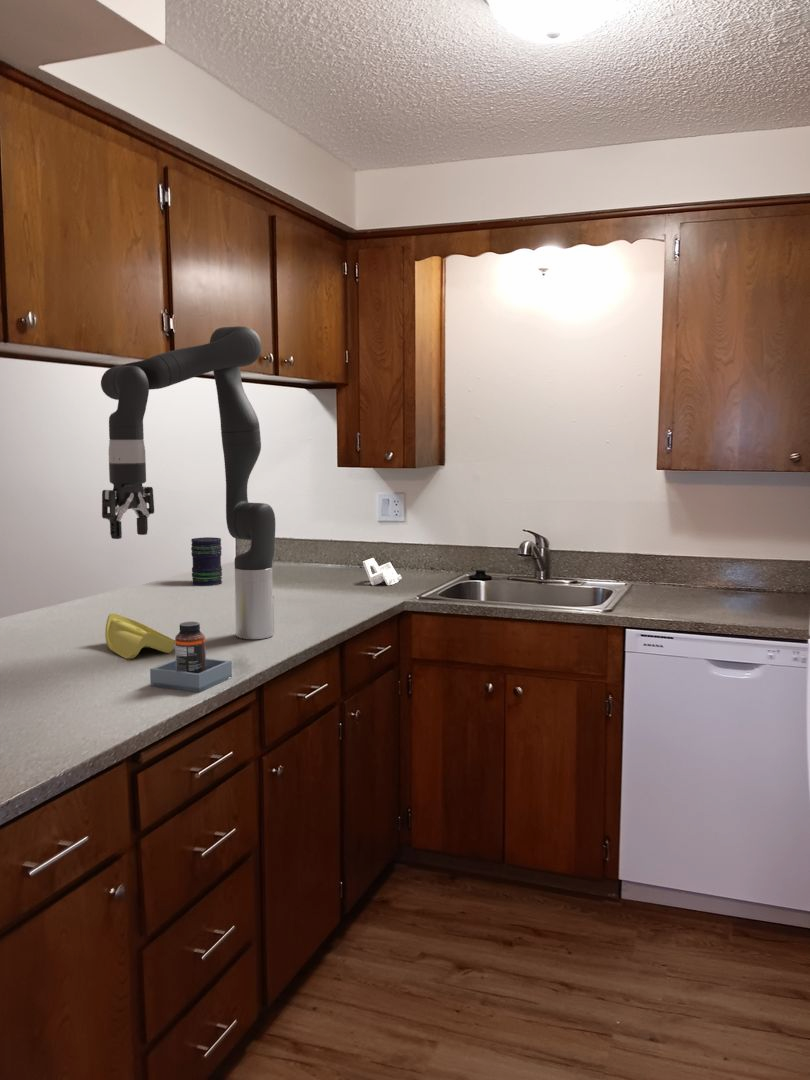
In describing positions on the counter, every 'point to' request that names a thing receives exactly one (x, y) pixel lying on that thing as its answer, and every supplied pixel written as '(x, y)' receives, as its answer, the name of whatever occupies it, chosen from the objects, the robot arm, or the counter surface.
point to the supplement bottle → (190, 648)
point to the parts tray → (190, 676)
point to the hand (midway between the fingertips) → (129, 536)
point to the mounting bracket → (381, 572)
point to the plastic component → (133, 637)
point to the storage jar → (206, 561)
